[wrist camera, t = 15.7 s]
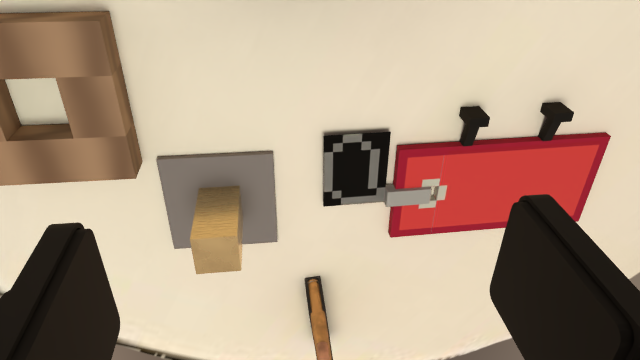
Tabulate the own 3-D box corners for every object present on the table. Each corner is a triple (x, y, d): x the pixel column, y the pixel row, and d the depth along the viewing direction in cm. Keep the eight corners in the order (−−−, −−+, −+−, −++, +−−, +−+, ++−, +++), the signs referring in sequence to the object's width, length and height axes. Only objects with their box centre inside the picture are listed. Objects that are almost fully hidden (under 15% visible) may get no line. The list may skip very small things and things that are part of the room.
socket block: (109, 11, 39) (99, 20, 36) (142, 161, 46) (135, 178, 44) (-79, 14, 37) (-103, 25, 35) (-13, 169, 45) (-29, 187, 42)
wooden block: (239, 185, 48) (237, 236, 41) (243, 217, 50) (241, 270, 44) (198, 188, 48) (189, 239, 41) (204, 220, 50) (196, 274, 43)
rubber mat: (272, 151, 47) (272, 154, 47) (277, 238, 53) (277, 241, 52) (157, 156, 46) (156, 159, 45) (175, 245, 52) (174, 248, 51)
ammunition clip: (304, 277, 57) (315, 364, 47) (320, 275, 57) (334, 361, 47) (314, 337, 63) (326, 425, 52) (328, 334, 63) (343, 422, 53)
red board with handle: (322, 113, 46) (322, 234, 54) (326, 127, 43) (325, 251, 52) (614, 97, 49) (571, 213, 57) (632, 109, 47) (585, 228, 55)
